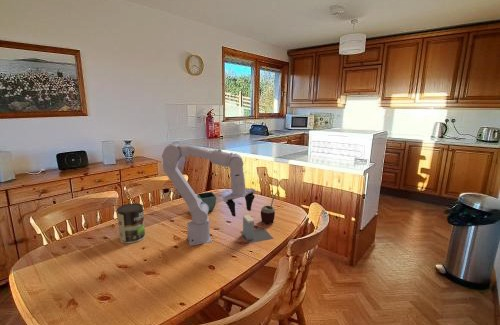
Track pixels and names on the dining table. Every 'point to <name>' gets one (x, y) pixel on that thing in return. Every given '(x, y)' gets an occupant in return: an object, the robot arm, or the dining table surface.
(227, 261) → the dining table surface
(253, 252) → the dining table surface
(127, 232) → the coffee can
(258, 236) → the mat
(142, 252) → the dining table surface
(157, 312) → the dining table surface
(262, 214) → the mate gourd
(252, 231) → the slab
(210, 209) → the flower pot
